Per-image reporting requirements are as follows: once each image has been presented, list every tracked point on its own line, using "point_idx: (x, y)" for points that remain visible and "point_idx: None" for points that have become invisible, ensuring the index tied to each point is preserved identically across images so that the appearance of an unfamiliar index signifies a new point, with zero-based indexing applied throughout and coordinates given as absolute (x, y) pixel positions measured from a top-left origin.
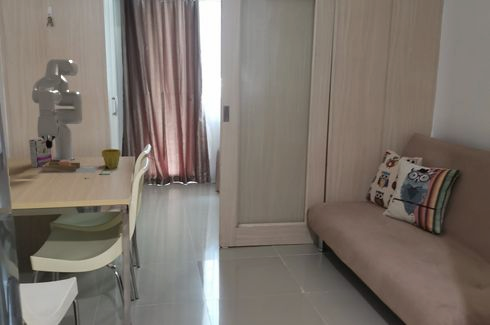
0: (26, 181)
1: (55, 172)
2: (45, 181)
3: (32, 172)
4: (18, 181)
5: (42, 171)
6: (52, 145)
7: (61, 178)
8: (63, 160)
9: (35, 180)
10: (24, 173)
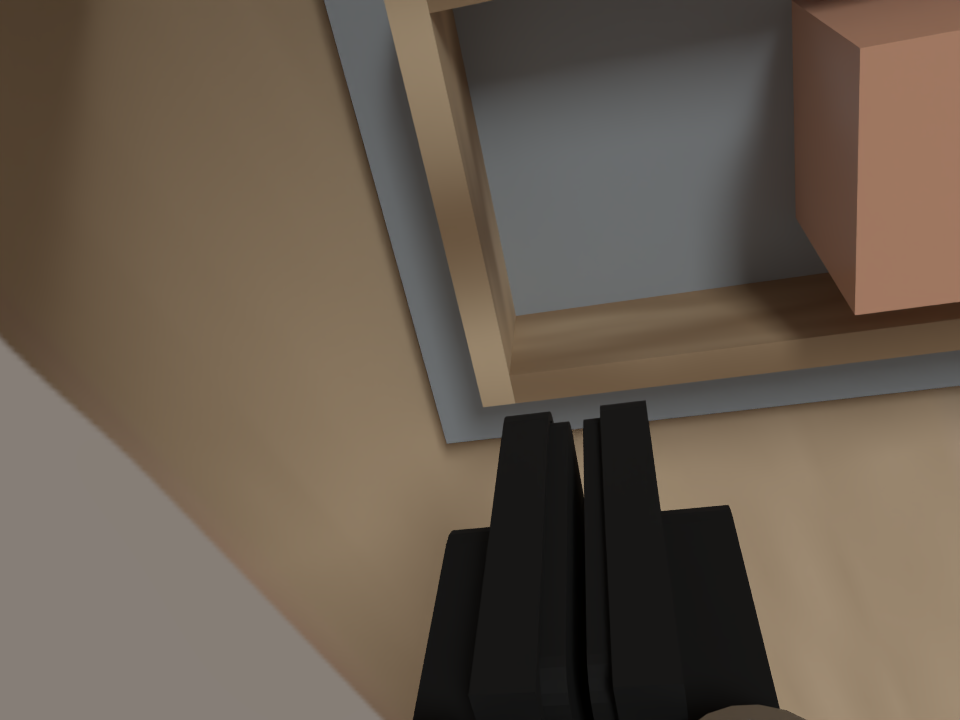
0: None
1: (764, 376)
2: None
3: (228, 210)
4: None
5: None
6: (734, 542)
7: (935, 571)
8: (949, 138)
9: None
10: (152, 302)
